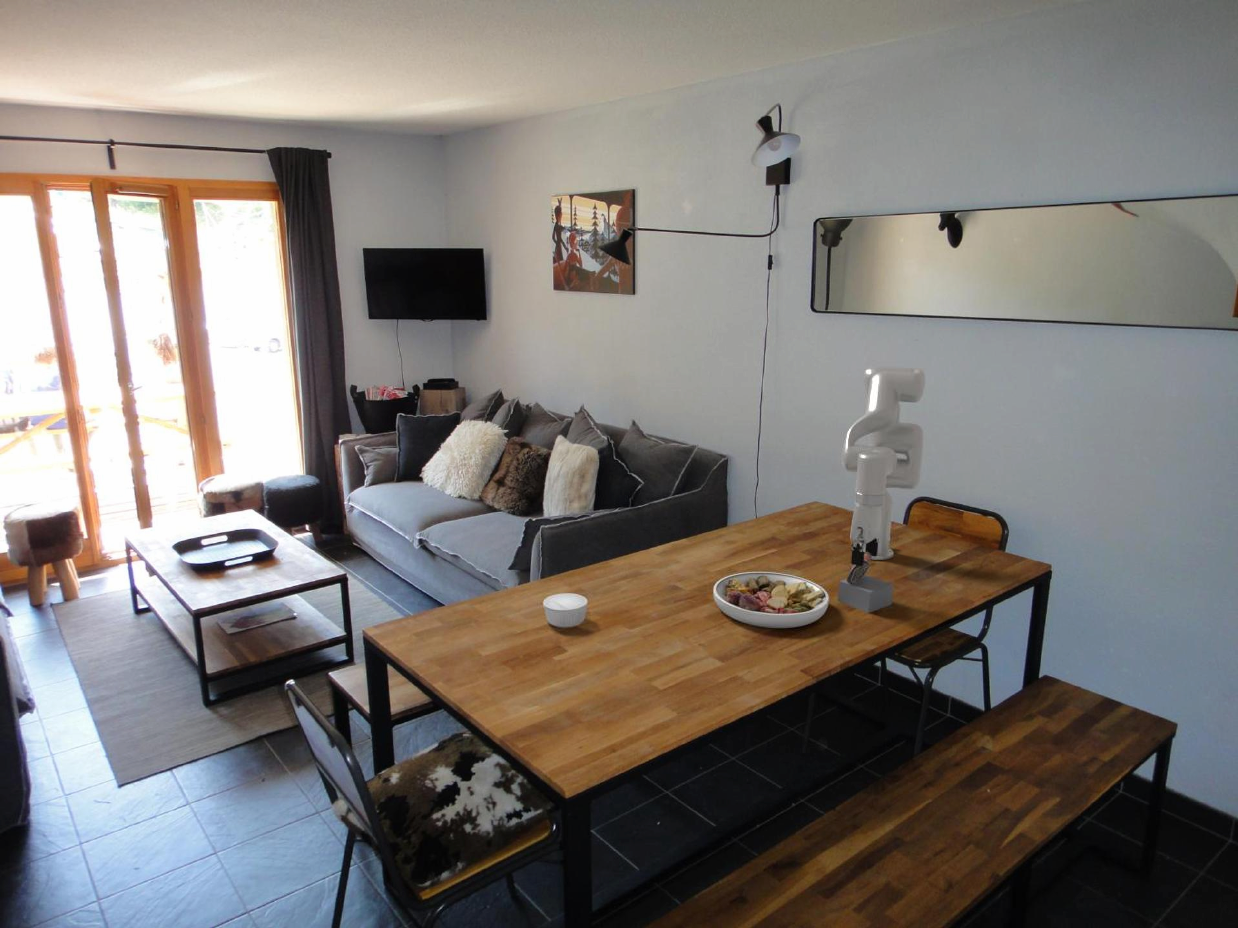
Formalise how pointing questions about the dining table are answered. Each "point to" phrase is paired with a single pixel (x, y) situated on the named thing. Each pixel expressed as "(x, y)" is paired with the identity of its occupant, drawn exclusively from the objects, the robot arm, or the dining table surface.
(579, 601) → the ramekin
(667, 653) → the dining table surface
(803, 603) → the bowl
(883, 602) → the gray block
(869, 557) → the lighter
